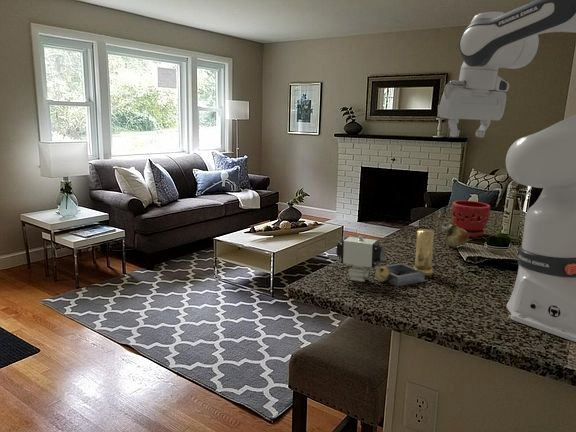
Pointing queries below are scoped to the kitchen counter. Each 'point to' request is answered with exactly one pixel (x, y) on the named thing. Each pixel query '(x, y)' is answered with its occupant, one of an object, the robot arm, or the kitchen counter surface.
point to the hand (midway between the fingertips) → (466, 137)
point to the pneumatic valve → (360, 256)
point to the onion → (455, 235)
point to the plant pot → (470, 216)
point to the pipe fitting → (424, 251)
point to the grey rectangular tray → (390, 275)
